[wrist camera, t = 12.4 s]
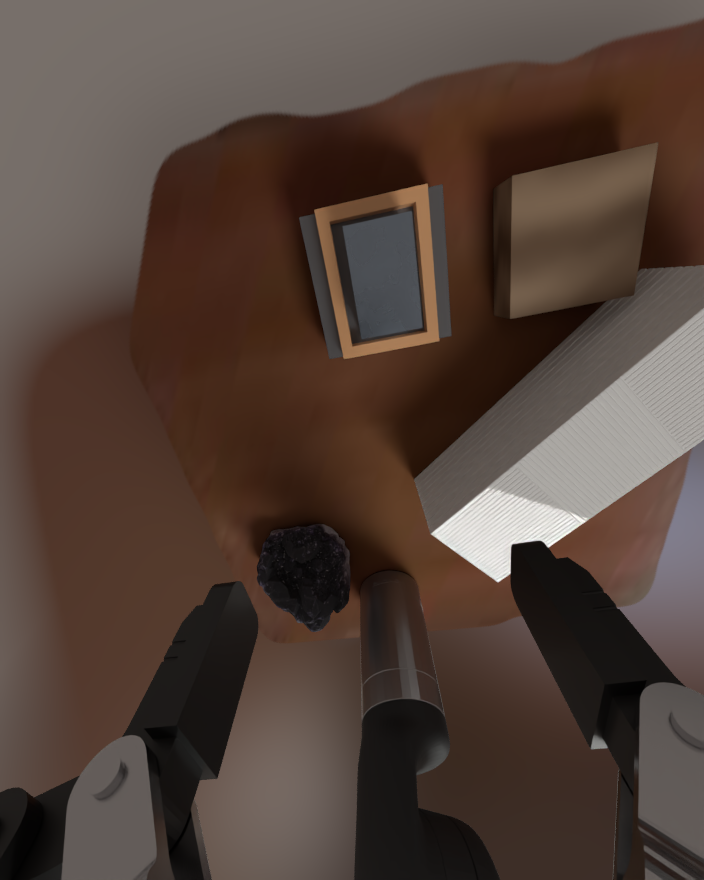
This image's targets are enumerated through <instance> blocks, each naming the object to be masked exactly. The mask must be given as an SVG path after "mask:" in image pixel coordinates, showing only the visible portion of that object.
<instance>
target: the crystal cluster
mask: <svg viewBox="0 0 704 880" xmlns="http://www.w3.org/2000/svg"><path fill="white" fill-rule="evenodd" d="M349 557H350V553H349V550H348V549H347V548H346V546H345V541H344V540H343V539H342V538H340V537H339V536H338V533H336V532H335V531H334V530H333V529H332V528H331V527H329V526H326V525H324V524H315V525H310V526H308V527H299V526H297V527H293V528H290V529H278V530H274V531H271V533H270V536H269V537H268V538H267V539H266V541H265V542H264V544H263V547H262V553H261V555H260V560H259V562H258V565H257V572H258V576H257V581H258V583H259V585H260V586H262V587H263V590H264V592H265V593H266V594H267V595H268V596H269V597H270V598H271V600H272V601H273V602H274V604H275V605H276V606H277V607H279V608H281V609H282V610H284V611H286V612H290V613H291V614H292V615H293V616H294V617H295V619H296V621H297V622H298V623H304V624H305V625H306V627H307V628H308V629H309V630H310V631H312V632H317V631H320V630H322V629H323V628H324V627H325V625H326V624H327V623H328V622H329V620H330V615H331V613H332V612H333V610H334V611H335V612H336V613H338V612H340V611H341V610H342V609H343V608H344V607H345V606H346V604H347V603H348V601H349V590H350V565H349V560H350V558H349Z"/></svg>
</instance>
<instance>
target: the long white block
mask: <svg viewBox="0 0 704 880" xmlns="http://www.w3.org/2000/svg"><path fill="white" fill-rule="evenodd" d="M702 440H704V265H700V266H695V267H693V266H685V267H684V268H683V267H675V268H673V267H666V268H665V269H664V268H657V269H655V268H649V269H648V270H647V269H641V270H640V271H638V273H637V280H636V286H635V292H634V295H633V296H628V297H623V298H618V299H612V300H607V301H606V302H605V303H604V304H603V305H602V306H601V307H600V308H598V309H597V310H596V311H595V312H594V313H593V314H592V315H591V316H590V317H589V318H588V319H587V320H586V321H584V322H583V323H582V324H581V325H580V326H579V327H578V328H577V329H576V330H575V331H574V332H573V333H571V334H570V335H569V336H568V337H567V338H566V339H565V340H564V341H563V342H562V343H561V344H560V345H559V346H557V347H556V348H555V349H554V350H553V351H552V352H551V353H550V354H549V355H548V356H547V357H546V358H544V359H543V360H542V361H541V362H540V363H539V364H538V365H537V366H536V367H535V368H534V369H533V370H532V371H530V372H529V373H528V374H527V375H526V376H525V377H524V378H523V379H522V380H521V381H520V382H519V383H517V384H516V385H515V386H514V387H513V388H512V389H511V390H510V391H509V392H508V393H507V394H506V395H505V396H503V397H502V398H501V399H500V400H499V401H498V402H497V403H496V404H495V405H494V406H493V407H492V408H490V409H489V410H488V411H487V412H486V413H485V414H484V415H483V416H482V417H481V418H480V419H479V420H478V421H476V422H475V423H474V424H473V425H472V426H471V427H470V428H469V429H468V430H467V431H466V432H465V433H463V434H462V435H461V436H460V437H459V438H458V439H457V440H456V441H455V442H454V443H453V444H452V445H451V446H449V447H448V448H447V449H446V450H445V451H444V452H443V453H442V454H441V455H440V456H439V457H438V458H436V459H435V460H434V461H433V462H432V463H431V464H430V465H429V466H428V467H427V468H426V469H425V470H424V471H422V472H421V473H420V474H419V475H418V476H417V477H416V478H415V479H414V481H415V482H416V483H415V484H416V486H417V490H418V494H419V495H420V496H419V497H420V500H421V504H422V505H423V506H422V507H423V510H424V514H425V517H426V521H428V522H427V524H428V527H429V531H430V534H431V535H433V536H434V537H436V538H437V539H438V540H440V541H441V542H443V543H444V544H445V545H447V546H448V547H449V548H451V549H452V550H454V551H455V552H456V553H458V554H459V555H461V556H462V557H463V558H465V559H466V560H468V561H469V562H470V563H472V564H473V565H474V566H476V567H477V568H479V569H480V570H481V571H483V572H484V573H486V574H487V575H488V576H490V577H491V578H493V579H494V580H495V581H497V582H499V581H501V580H502V579H504V578H505V577H506V576H508V575H509V574H511V546H512V544H517V543H524V542H531V541H539V540H540V541H542V542H544V543H545V544H546V546H547V547H550V546H551V545H553V544H554V543H555V542H557V541H558V540H560V539H561V538H563V537H564V536H566V535H567V534H568V533H570V532H571V531H573V530H574V529H576V528H577V527H579V526H580V525H581V524H583V523H584V522H586V521H587V520H589V519H590V518H592V517H593V516H594V515H596V514H597V513H599V512H600V511H602V510H603V509H604V508H606V507H607V506H609V505H610V504H612V503H613V502H615V501H616V500H617V499H619V498H620V497H622V496H623V495H625V494H626V493H628V492H629V491H630V490H632V489H633V488H635V487H636V486H638V485H639V484H641V483H642V482H643V481H645V480H646V479H648V478H649V477H651V476H652V475H654V474H655V473H656V472H658V471H659V470H661V469H662V468H664V467H665V466H667V465H668V464H669V463H671V462H672V461H674V460H675V459H677V458H678V457H680V456H681V455H682V454H684V453H685V452H687V451H688V450H690V449H691V448H692V447H694V446H695V445H697V444H698V443H700V442H701V441H702Z"/></svg>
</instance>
